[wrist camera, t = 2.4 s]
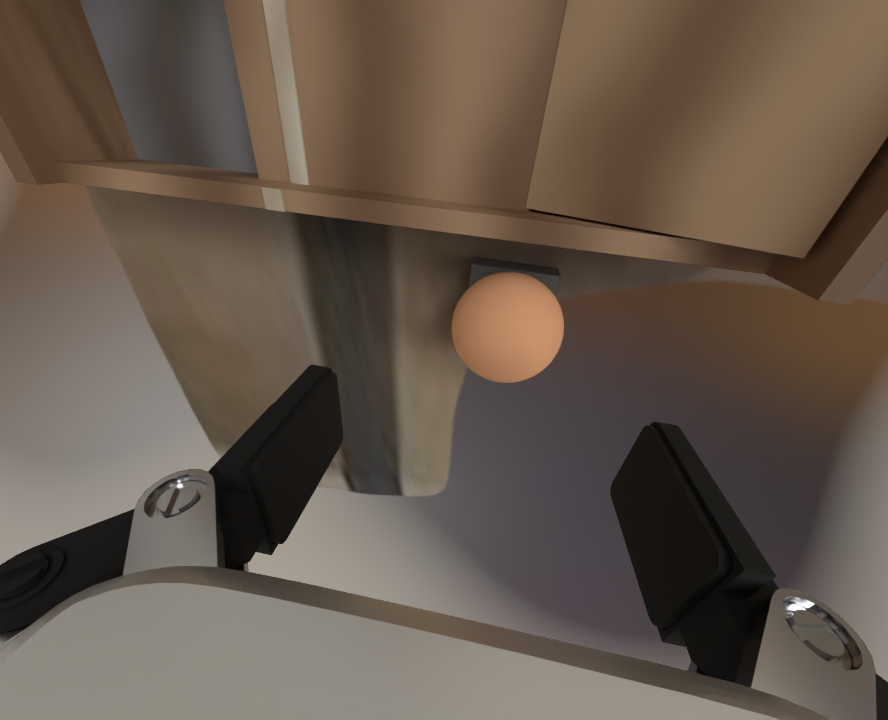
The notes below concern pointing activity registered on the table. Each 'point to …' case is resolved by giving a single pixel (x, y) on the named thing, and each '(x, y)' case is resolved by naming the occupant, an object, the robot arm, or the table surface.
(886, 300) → the table surface
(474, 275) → the grey square frame
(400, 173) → the lane
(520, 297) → the ball
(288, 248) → the table surface
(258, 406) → the table surface
